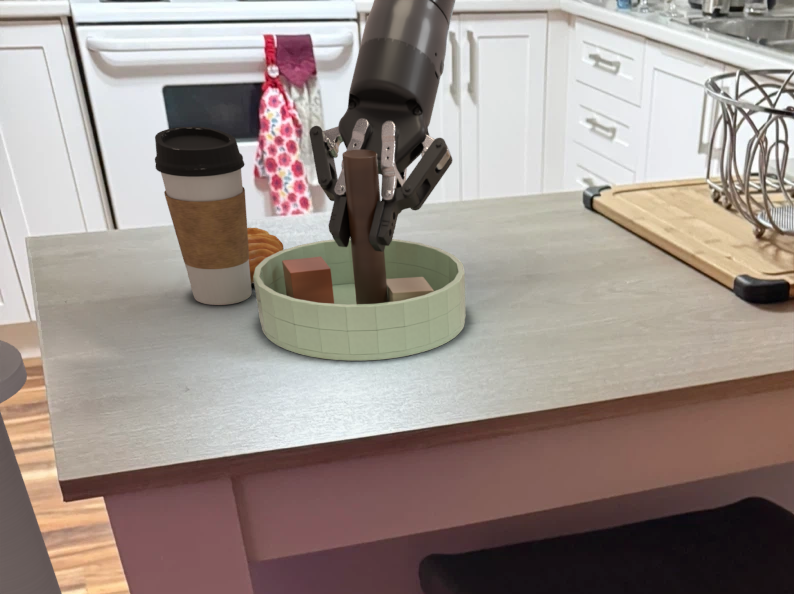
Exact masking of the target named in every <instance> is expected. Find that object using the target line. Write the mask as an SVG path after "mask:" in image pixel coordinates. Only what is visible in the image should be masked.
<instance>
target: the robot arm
mask: <svg viewBox="0 0 794 594" xmlns="http://www.w3.org/2000/svg"><path fill="white" fill-rule="evenodd" d="M455 5H456V0H373V2H372V6H371V9H370V11H369V13H368V16H367V18H366V21H365V24H364V29H363V33H362V38H361V41H360V46H359V49H358V54H357V58H356V62H355V67H354V70H353V75H352V79H351V83H350V88H349V91H348V102H347V108H346V111H345V112H344V114H343V116H342V117H341V118H340V119H339V121H338V125H337V126H335V127H332V128H328V129H325V130H323V129H322V128H321V126H319V125H314V126H312V127H311V128H310V129H309V132H308V133H309V139H310V145H311V150H312V156H313V161H314V167H315V172H316V178H317V179H316V180H317V184H318V185H319V186H320V188H321V189H322V191H323V192H324V194H325V195H326V197H327V198H328V200H329V201H330V202H333V204H332V209H331V214H330V218H329V221H328V225H327V227H328V231H329V233H330V234H331V236H332V240H335V242H336V243H337V245H338V246H340V247H347V246H348V244H349V239H350V229H349V219H348V208H347V198H346V187H345V177H344V166H343V159H342V160H341V165H340V166H341V171H340V173H339V176H338V172H337V166H336V162H335V159H337V158H338V156H339V152H340V151H339V149H340V145H341V144H342V143H343V144H344V146H345V149H346V151H349V150H359V149H362V150H371V151H374V152H376V153H377V160H378V174H379V175H381V187H380V189H381V190H380V197H381V199H380V200H381V201H377V205H376V209H375V213H374V217H373V222H372V226H371V230H370V235H369V241H370V244H371V245H372V247H373V248H374V250H375V251H381V252H383V251H384V250H385V246H389V245H390V243H391V241H392V239H394V234H395V229H396V224H397V220H398V217H399V215H400V214H401V213H402V211H404V210H408V209H410V210H411V211H418V210H421V208H422V207H423V205H424V204H425V202H426V201H427V200H428V198H429V197H430V195H431V194H432V192H433V191H434V190H435V188H436V186H437V185H438V183H439V182H440V181H441V180H442V178H443V177H444V175H445V174H446V173H447V171H448V170H449V168H450V167H451V166H452V163H453V157H452V154H451V152H450V149H449V147H448V145H447V142H446V140H445V139H444V138H443V137H436V138H434V137H432V136H431V135H430V133H429V126H430V124H431V120H432V116H433V111H434V107H435V102H436V99H437V94H438V90H439V85H440V81H441V77H442V75H443V73H444V67H445V60H446V53H447V43H448V36H449V30H450V26H451V22H452V17H453V14H454V13H453V12H454V9H455ZM346 151H345V152H346ZM420 155H421V158H420V160H419V161H418V163H417V164H416V165H415V167H414V168H413V170H412V171H411V172H410V174H409V175H408V177H407V170H408V169H407V168H408V167H409V166H411V164H412V163H413V162H415V161H416V160H417V158H418V157H419V156H420Z"/></svg>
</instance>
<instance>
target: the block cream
mask: <svg viewBox="0 0 794 594" xmlns="http://www.w3.org/2000/svg"><path fill="white" fill-rule="evenodd" d="M386 280H387V294H388V302H394V301H402V300H406V299H410V298H415V297H419V296H423V295H426V294H429V293H431V292H434V290H433V289H432V287H431V286H430V285H429V284H428V282H427V281H426V280H425V278H424V277H411V278H394V279H386Z"/></svg>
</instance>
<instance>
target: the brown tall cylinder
mask: <svg viewBox="0 0 794 594" xmlns="http://www.w3.org/2000/svg"><path fill="white" fill-rule="evenodd" d="M341 156H342V160H343V166H344V177H345V187H346V198H347V208H348V219H349V229H350V240H351V251H352V261H353V272H354V282H355V293H356V303H357V304H378V303H386V302H388V294H387V280H386V267H385V254H384V251H383V252H381V251H375V250H374V248H373V247H372V245H371V244H370V241H369V235H370V230H371V226H372V222H373V217H374V213H375V209H376V205H377V201H381V200H382V199H381V190H380V189H381V187H380V174H378V160H377V153H376V152H374V151H371V150H362V149H359V150H349V151H344V152H342V155H341Z"/></svg>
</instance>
